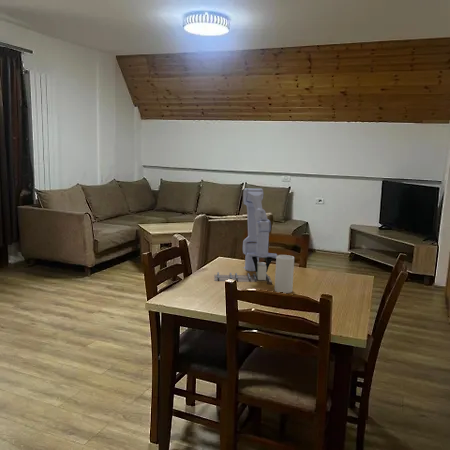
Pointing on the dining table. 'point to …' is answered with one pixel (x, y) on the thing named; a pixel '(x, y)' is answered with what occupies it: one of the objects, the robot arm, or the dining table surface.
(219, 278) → the notch rail
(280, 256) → the cup
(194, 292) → the dining table surface
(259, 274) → the white rectangular block
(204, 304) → the dining table surface
